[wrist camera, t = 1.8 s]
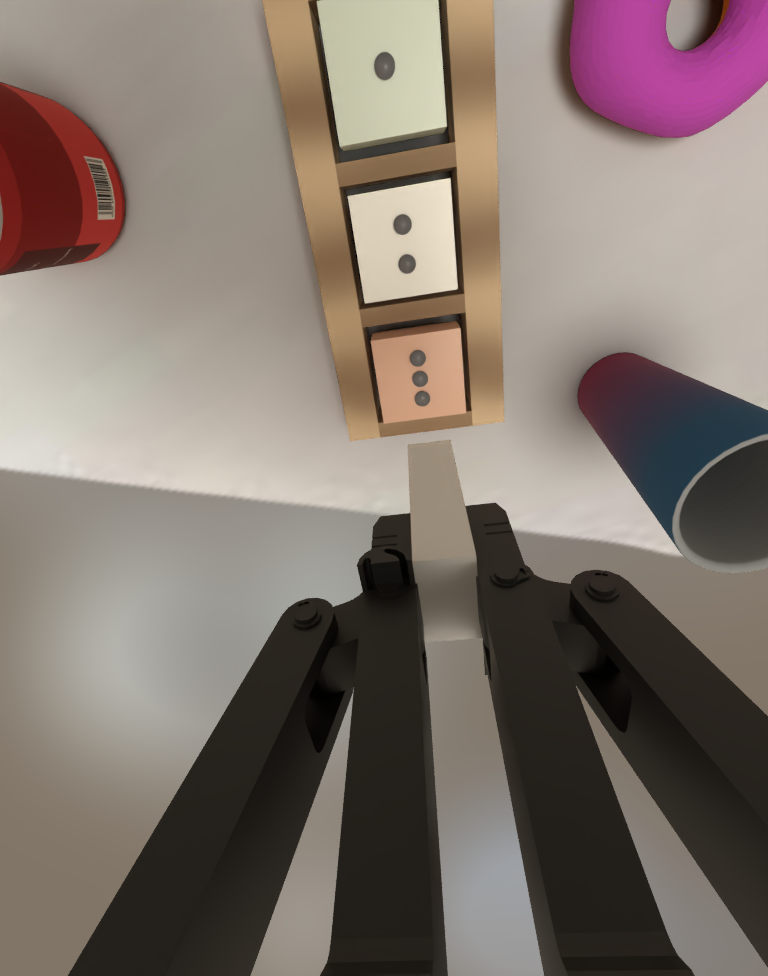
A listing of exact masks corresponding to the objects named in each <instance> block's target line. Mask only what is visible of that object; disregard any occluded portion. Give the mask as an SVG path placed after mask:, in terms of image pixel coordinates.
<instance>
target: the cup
mask: <svg viewBox="0 0 768 976" xmlns="http://www.w3.org/2000/svg"><path fill="white" fill-rule="evenodd" d="M578 403H579V407H580V409H581V411H582V412H583V414H584V415H585V417H586V418H587V420H588V421H589V423H590V424H591V425H592V427H593V428H594V430H595V431H596V433H597V434H598V435H599V437H600V438H601V440H602V441H603V443H604V444H605V445H606V447H607V448H608V450H609V451H610V453H611V454H612V455H613V457H614V458H615V460H616V461H617V463H618V464H619V465H620V467H621V468H622V470H623V471H624V473H625V474H626V475H627V477H628V478H629V480H630V481H631V483H632V484H633V485H634V487H635V488H636V490H637V491H638V493H639V494H640V495H641V497H642V498H643V500H644V501H645V503H646V504H647V505H648V507H649V508H650V510H651V511H652V513H653V514H654V515H655V517H656V518H657V520H658V521H659V523H660V524H661V525H662V527H663V528H664V530H665V531H666V533H667V534H668V535H669V537H670V538H671V540H672V541H673V543H674V544H675V545H676V547H677V548H678V550H679V551H680V553H681V554H682V555H683V556H685V557H686V558H687V559H688V560H689V561H690V562H692V563H694V564H696V565H698V566H699V567H701V568H705V569H708V570H711V571H716V572H724V573H743V572H750V571H756V570H761V569H764V568H768V410H766V409H763V408H761V407H759V406H756V405H754V404H751V403H749V402H747V401H744V400H742V399H740V398H737V397H735V396H733V395H730V394H728V393H726V392H723V391H721V390H719V389H716V388H714V387H712V386H709V385H707V384H705V383H702V382H700V381H698V380H695V379H693V378H691V377H688V376H686V375H683V374H681V373H679V372H676V371H674V370H672V369H669V368H667V367H665V366H662V365H660V364H658V363H655V362H653V361H651V360H648V359H646V358H644V357H641V356H639V355H636V354H633V353H617V354H613V355H610V356H607V357H605V358H603V359H601V360H600V361H598V362H597V363H595V364H594V365H593V366H592V367H591V368H590V369H589V370H588V371H587V373H586V374H585V375H584V377H583V379H582V381H581V383H580V386H579V389H578Z"/></svg>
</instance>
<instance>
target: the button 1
mask: <svg viewBox="0 0 768 976" xmlns="http://www.w3.org/2000/svg"><path fill="white" fill-rule="evenodd" d="M317 7H318V13H319V20H320V26H321V32H322V38H323V45H324V51H325V57H326V64H327V70H328V76H329V82H330V89H331V95H332V101H333V108H334V114H335V120H336V126H337V133H338V139H339V145H340V147H341V149H342V150H343V151H344V152H345V151H350V150H355V149H361V148H366V147H371V146H377V145H382V144H388V143H393V142H398V141H404V140H409V139H415V138H420V137H425V136H431V135H436V134H441V133H444V131H445V129H446V127H447V121H446V106H445V91H444V76H443V61H442V47H441V32H440V17H439V2H438V0H320V1H317Z"/></svg>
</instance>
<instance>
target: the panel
mask: <svg viewBox="0 0 768 976" xmlns="http://www.w3.org/2000/svg"><path fill="white" fill-rule="evenodd" d="M317 1H320V0H262V2H263V7H264V12H265V17H266V22H267V27H268V32H269V37H270V42H271V47H272V52H273V57H274V62H275V67H276V72H277V77H278V82H279V87H280V92H281V97H282V102H283V107H284V112H285V117H286V122H287V127H288V132H289V137H290V142H291V147H292V152H293V157H294V162H295V167H296V172H297V177H298V182H299V187H300V192H301V197H302V202H303V207H304V212H305V217H306V222H307V227H308V232H309V237H310V242H311V247H312V252H313V257H314V262H315V267H316V272H317V277H318V282H319V287H320V292H321V297H322V302H323V307H324V312H325V317H326V322H327V327H328V332H329V337H330V342H331V347H332V352H333V357H334V362H335V367H336V372H337V377H338V382H339V387H340V392H341V397H342V402H343V407H344V412H345V417H346V422H347V427H348V432H349V437H350V441H355V440H362V439H370V438H378V437H386V436H394V435H402V434H410V433H418V432H426V431H434V430H442V429H450V428H458V427H466V426H474V425H482V424H489V423H497V422H504V395H503V356H502V318H501V279H500V241H499V202H498V164H497V126H496V87H495V49H494V10H493V0H440V11H441V26H442V41H443V56H444V71H445V86H446V101H447V116H448V132H449V143H447V144H442V145H436V146H431V147H425V148H420V149H414V150H409V151H404V152H398V153H393V154H387V155H382V156H376V157H371V158H365V159H360V160H355V161H349V162H344V163H340V158H339V151H338V145H337V139H336V133H335V126H334V120H333V114H332V108H331V102H330V95H329V89H328V83H327V77H326V71H325V64H324V58H323V52H322V46H321V39H320V33H319V27H318V25H319V24H320V20H319V13H318V7H317ZM448 171H451V177H452V192H453V207H454V222H455V237H456V252H457V267H458V283H459V287H458V289H456V290H450V291H443V292H437V293H430V294H424V295H417V296H411V297H404V298H398V299H391V300H385V301H378V302H372V303H365V302H364V301H362V294H361V288H360V282H359V276H358V269H357V263H356V257H355V251H354V245H353V238H352V232H351V226H350V220H349V214H348V207H347V201H346V195H345V190H347V189H353V188H358V187H364V186H369V185H375V184H381V183H386V182H392V181H397V180H403V179H409V178H414V177H420V176H426V175H431V174H437V173H442V172H448ZM457 313H461V328H462V343H463V358H464V373H465V388H466V395H465V403H466V413H464V414H456V415H448V416H441V417H433V418H425V419H417V420H410V421H402V422H394V423H386V424H384V422H383V415H382V409H381V407H380V406H379V400H378V394H377V388H376V381H375V375H374V369H373V363H372V357H371V350H370V344H369V338H368V332H367V327H370V326H377V325H384V324H390V323H397V322H404V321H410V320H417V319H424V318H431V317H437V316H444V315H451V314H457Z"/></svg>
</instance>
